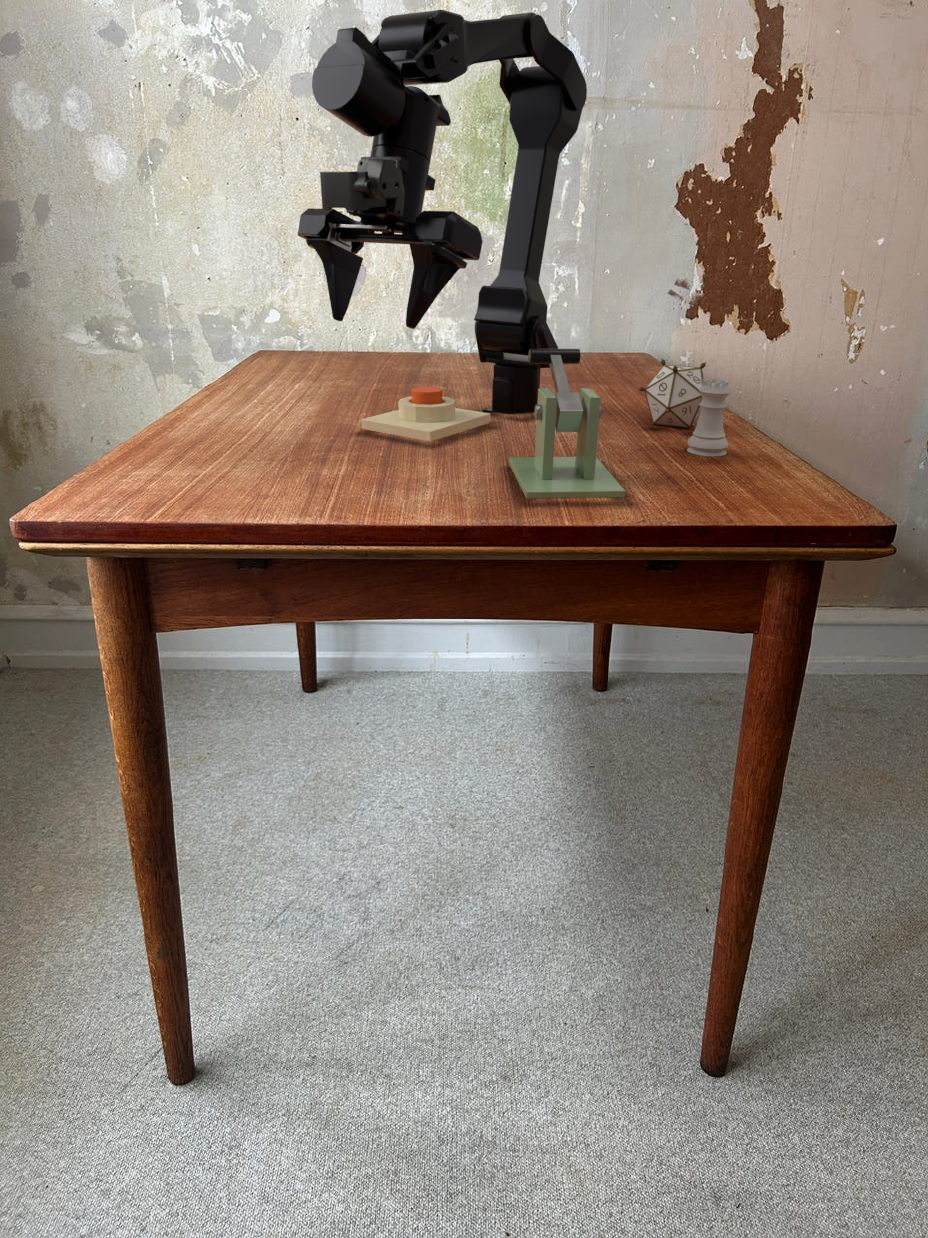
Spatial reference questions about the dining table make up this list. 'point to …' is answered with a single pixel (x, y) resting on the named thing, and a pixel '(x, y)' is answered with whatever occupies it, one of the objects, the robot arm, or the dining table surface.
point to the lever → (561, 386)
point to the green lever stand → (565, 473)
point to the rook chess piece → (710, 420)
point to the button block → (426, 420)
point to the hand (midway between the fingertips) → (372, 323)
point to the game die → (675, 395)
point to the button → (426, 395)
